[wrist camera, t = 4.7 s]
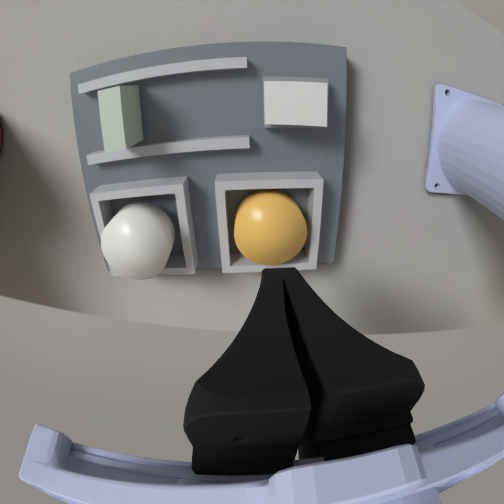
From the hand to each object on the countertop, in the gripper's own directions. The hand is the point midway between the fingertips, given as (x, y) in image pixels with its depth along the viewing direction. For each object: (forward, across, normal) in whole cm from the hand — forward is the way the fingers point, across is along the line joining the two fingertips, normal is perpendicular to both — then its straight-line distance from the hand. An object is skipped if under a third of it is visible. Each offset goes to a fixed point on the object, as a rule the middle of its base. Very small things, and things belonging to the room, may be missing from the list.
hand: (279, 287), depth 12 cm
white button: (+6, +7, 0) cm, 9 cm away
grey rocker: (+6, -2, -7) cm, 9 cm away
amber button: (+7, 0, 0) cm, 7 cm away
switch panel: (+8, +3, -4) cm, 10 cm away
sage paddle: (+7, +7, -7) cm, 12 cm away
